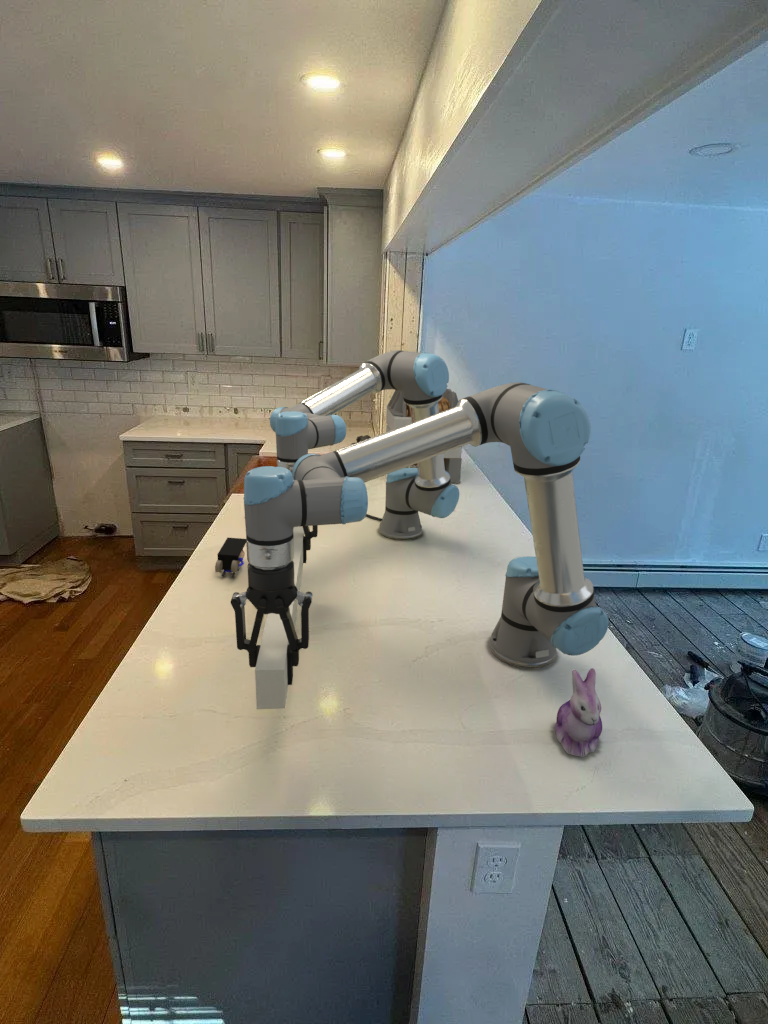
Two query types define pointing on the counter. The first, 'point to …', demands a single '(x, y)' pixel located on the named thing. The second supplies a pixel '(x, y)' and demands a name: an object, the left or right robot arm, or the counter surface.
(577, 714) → the figurine
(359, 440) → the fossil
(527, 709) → the counter surface
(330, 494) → the right robot arm
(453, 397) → the transformer
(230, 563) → the black wheeled rover
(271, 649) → the beam
